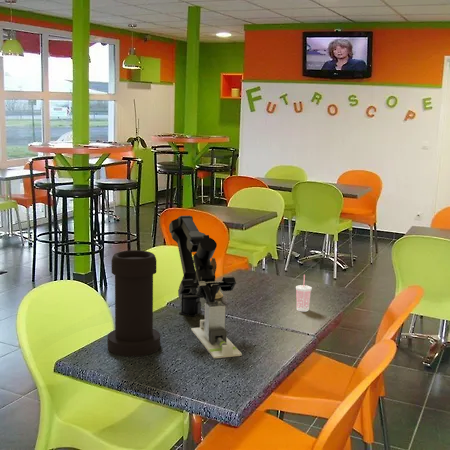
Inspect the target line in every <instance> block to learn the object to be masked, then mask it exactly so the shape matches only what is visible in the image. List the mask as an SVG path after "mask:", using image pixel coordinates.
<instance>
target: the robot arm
mask: <svg viewBox="0 0 450 450" xmlns="http://www.w3.org/2000/svg"><path fill="white" fill-rule="evenodd" d="M168 227H169V228H168V230H169V234H170V235H171V239H172V240H173V241H174V242H175V243H176V244H177V249H178V253H179V258H180V259H179V260H180V264H181V268H182V274H183V276H182V279H181V281H180V283H179V286H178V287H179V288H178V292H177V293H178V297H179V299H180V301H181V303H180V304H181V306H180V307H181V308H180V310H181V311H179V312H178V313H179V315H183V316H189V317H195V316H197V315H199V314H201V313H203V311H202V302H201V299H204V300H205V302H216V299H215V296H216V294H217V293H218V291H219V289H220V291H222V292H231V291H233V290H234V288H235V286H236V284H237V281H236V280H237V279H236V278H235V277H234V276H232V275H231V276H223V277H222V279H221V280H219V281H218V280H217V281H216V274H215V275H214V274H213V265H211V260H212V258H213V256H214V254H215V252H216V249H217V244H218V243H217V241H215V240H214V239H213V238H212V237H210V235H209V234H206V233H203V232H201V231H200V230H199V228H198V227H197V224H195V222H194V218H193V216H192V215H179V216H178V217H177V218H176V219H173V220H171V221H170V222H169V225H168ZM193 253H194V254H193Z"/></svg>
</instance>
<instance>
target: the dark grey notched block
mask: <svg viewBox="0 0 450 450" xmlns="http://www.w3.org/2000/svg"><path fill="white" fill-rule="evenodd" d="M227 334H228V333H227V330H226V328H225V329H218V330H210V334H209V342H210V343H211V344H215V336H221V338H222V339H223V341H225V342H226V337H227ZM227 338H228V337H227Z"/></svg>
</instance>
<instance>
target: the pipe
mask: <svg viewBox="0 0 450 450" xmlns="http://www.w3.org/2000/svg"><path fill="white" fill-rule="evenodd" d="M156 273H157V257H156V255H155V254H154V253H153V252H151V251H147V250H138V249H137V250H136V249H135V250H133V249H132V250H122V251H118V252H115V253H114V254H112V258H111V274H112V275H114V305H115V306H114V317H115V318H114V325H115V327H114V328H115V329H113V330H112V331H110V332H109V333H108V334H107V350H108V351H109V352H110V353H112V354H114V355H117V356H122V357H142V356H147V355H150V354H154V353H156V352H157V351H159V349H160V347H161V333H160V331H158V330H156V329H154V327H153V326H154V319H153V318H154V275H155V274H156Z"/></svg>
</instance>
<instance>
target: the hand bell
mask: <svg viewBox="0 0 450 450" xmlns="http://www.w3.org/2000/svg"><path fill="white" fill-rule="evenodd" d="M210 261H211V265H213V274H214V275H215V276H216V272H217V267H218V265H217V262H216V258H215V257H212V258H211V259H210ZM223 297H224V294H223V293H222V292H221V288H220V289H219V291H218V293H217V294H216V296H215V300H218V299H222V298H223Z"/></svg>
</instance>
